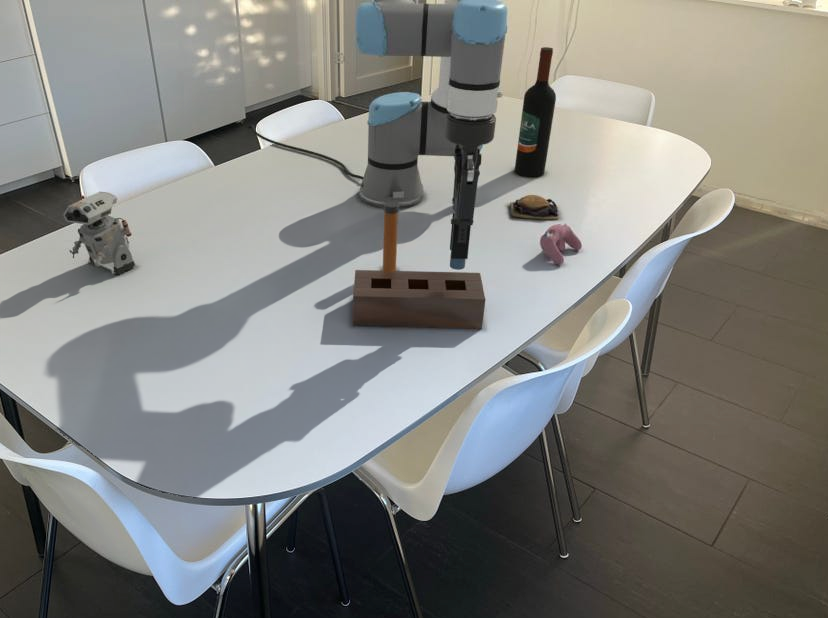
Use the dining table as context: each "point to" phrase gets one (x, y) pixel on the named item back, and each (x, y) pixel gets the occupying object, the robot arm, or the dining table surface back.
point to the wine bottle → (536, 122)
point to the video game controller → (558, 242)
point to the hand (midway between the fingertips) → (458, 253)
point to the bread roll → (534, 208)
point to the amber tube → (390, 235)
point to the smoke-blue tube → (454, 263)
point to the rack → (418, 299)
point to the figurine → (101, 231)
